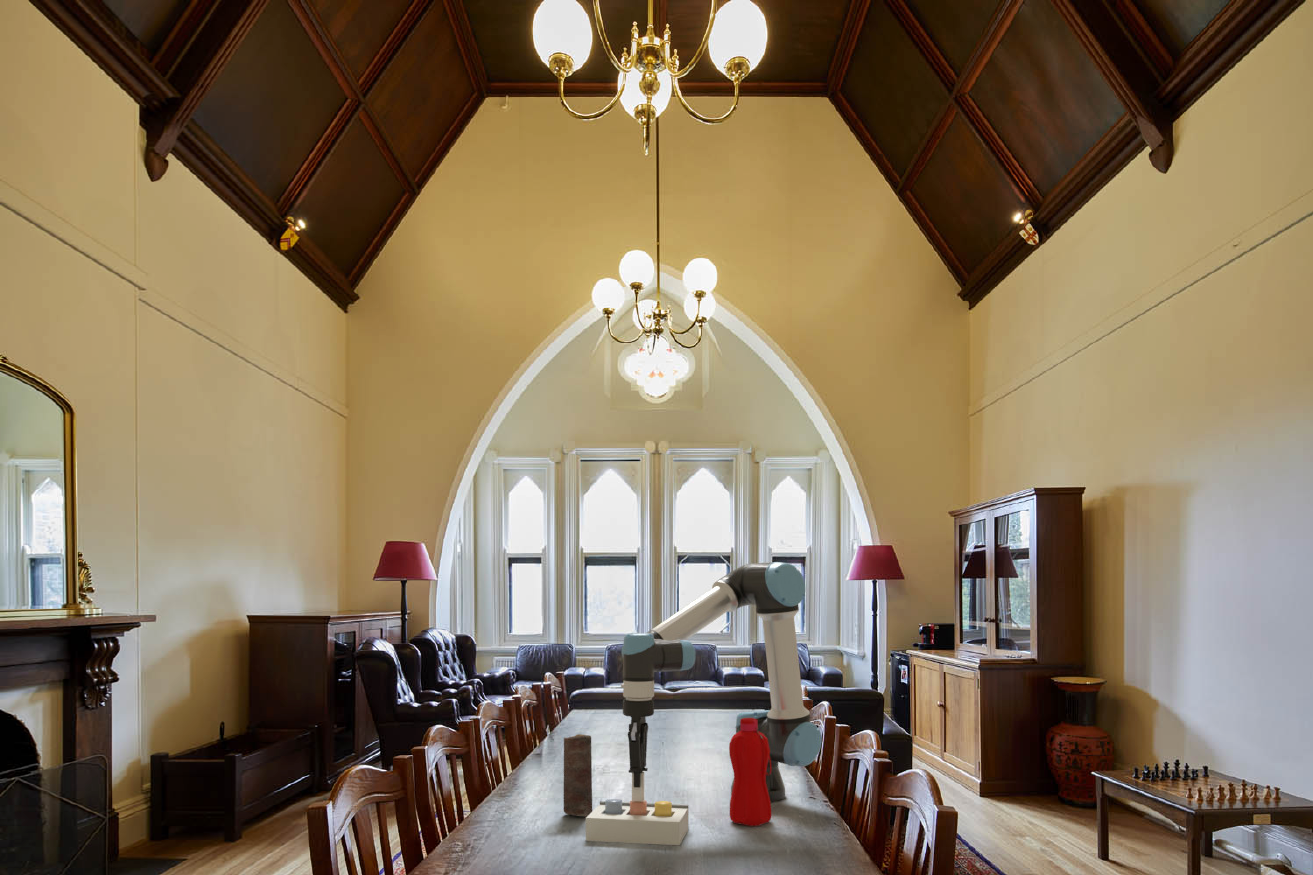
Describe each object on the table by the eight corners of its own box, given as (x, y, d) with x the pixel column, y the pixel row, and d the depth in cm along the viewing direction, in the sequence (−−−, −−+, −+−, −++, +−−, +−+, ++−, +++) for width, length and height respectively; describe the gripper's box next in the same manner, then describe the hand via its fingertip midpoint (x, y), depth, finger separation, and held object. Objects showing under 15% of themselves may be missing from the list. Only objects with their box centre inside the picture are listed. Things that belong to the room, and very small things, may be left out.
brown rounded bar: (567, 820, 230) (568, 737, 233) (558, 813, 236) (559, 733, 240) (596, 817, 233) (597, 735, 236) (586, 810, 240) (587, 731, 243)
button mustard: (672, 818, 218) (672, 801, 218) (670, 823, 214) (670, 805, 215) (656, 818, 218) (656, 800, 219) (653, 822, 215) (653, 804, 215)
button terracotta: (648, 817, 219) (648, 799, 219) (644, 821, 215) (644, 803, 216) (631, 816, 220) (631, 799, 220) (628, 821, 216) (628, 803, 216)
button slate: (623, 816, 220) (623, 799, 221) (620, 820, 216) (620, 802, 217) (607, 815, 221) (607, 798, 221) (603, 819, 217) (603, 802, 217)
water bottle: (761, 830, 221) (759, 722, 225) (724, 822, 228) (723, 718, 232) (782, 822, 228) (780, 718, 232) (746, 815, 235) (744, 714, 239)
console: (688, 829, 222) (688, 804, 222) (679, 845, 208) (679, 819, 209) (600, 824, 225) (600, 801, 226) (585, 840, 212) (585, 814, 213)
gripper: (628, 694, 229) (628, 793, 225) (617, 701, 216) (616, 806, 212) (658, 695, 227) (658, 795, 224) (648, 702, 215) (648, 807, 211)
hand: (638, 800), depth 218 cm, fingers closed
